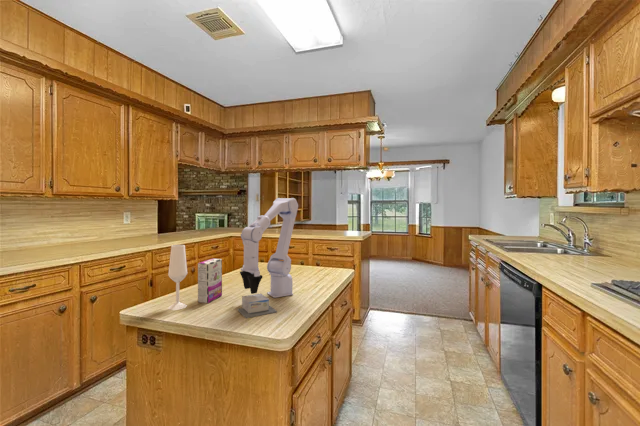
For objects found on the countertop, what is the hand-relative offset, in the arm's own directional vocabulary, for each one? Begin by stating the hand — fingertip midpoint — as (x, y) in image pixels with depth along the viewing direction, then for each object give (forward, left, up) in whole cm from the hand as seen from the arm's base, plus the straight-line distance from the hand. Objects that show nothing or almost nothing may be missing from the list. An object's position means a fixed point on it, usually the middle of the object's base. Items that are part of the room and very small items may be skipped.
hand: (250, 290), depth 119 cm
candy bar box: (+12, -16, -6) cm, 21 cm away
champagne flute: (+25, -12, -6) cm, 28 cm away
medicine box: (0, +1, -3) cm, 4 cm away
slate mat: (0, +7, -6) cm, 10 cm away
